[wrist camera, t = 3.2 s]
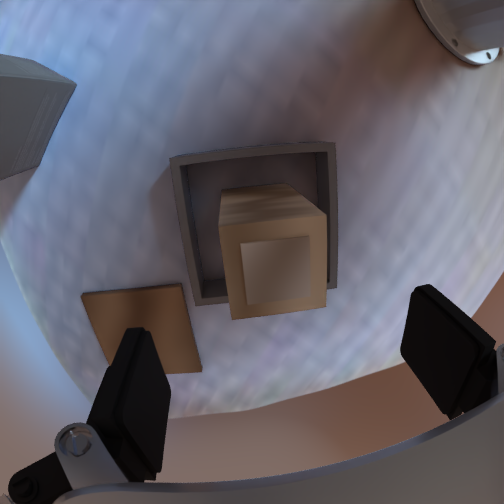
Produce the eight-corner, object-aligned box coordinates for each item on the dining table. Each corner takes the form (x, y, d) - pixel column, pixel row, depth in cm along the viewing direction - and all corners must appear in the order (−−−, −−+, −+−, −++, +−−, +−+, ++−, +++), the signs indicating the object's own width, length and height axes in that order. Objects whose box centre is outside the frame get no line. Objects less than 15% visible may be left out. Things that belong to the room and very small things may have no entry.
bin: (322, 141, 22) (335, 142, 19) (325, 272, 26) (336, 287, 23) (176, 155, 21) (169, 158, 19) (198, 287, 26) (195, 306, 23)
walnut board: (181, 283, 25) (180, 286, 25) (202, 368, 29) (202, 371, 28) (82, 292, 25) (80, 296, 24) (115, 370, 29) (114, 374, 28)
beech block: (286, 182, 23) (327, 215, 13) (289, 243, 25) (326, 308, 15) (221, 189, 23) (218, 227, 13) (229, 250, 25) (232, 321, 15)
